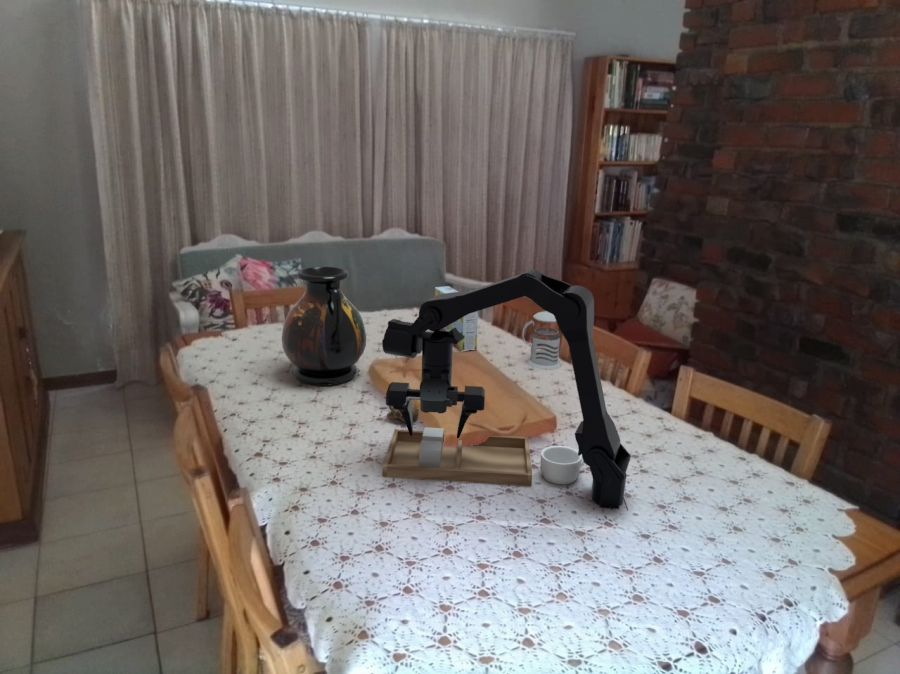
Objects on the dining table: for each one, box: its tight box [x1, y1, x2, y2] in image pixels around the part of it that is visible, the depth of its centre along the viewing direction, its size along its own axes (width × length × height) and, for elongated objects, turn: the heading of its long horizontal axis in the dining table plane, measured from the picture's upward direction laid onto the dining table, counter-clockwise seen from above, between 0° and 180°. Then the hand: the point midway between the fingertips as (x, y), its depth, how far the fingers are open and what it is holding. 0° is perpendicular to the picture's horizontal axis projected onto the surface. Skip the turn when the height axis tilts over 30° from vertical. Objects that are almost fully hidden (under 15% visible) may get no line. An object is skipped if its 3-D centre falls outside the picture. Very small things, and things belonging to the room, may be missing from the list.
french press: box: [521, 310, 562, 370], centre depth 190 cm, size 10×12×25 cm
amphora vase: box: [281, 266, 367, 386], centre depth 175 cm, size 22×22×28 cm
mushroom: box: [386, 399, 419, 423], centre depth 154 cm, size 8×8×6 cm
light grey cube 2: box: [419, 440, 442, 468], centre depth 132 cm, size 4×4×4 cm
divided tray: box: [382, 428, 533, 487], centre depth 135 cm, size 16×28×3 cm, turn 86°
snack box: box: [434, 285, 479, 352], centre depth 209 cm, size 21×6×15 cm, turn 25°
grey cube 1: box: [422, 426, 445, 458], centre depth 138 cm, size 4×4×4 cm
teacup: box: [540, 445, 586, 485], centre depth 131 cm, size 10×8×5 cm
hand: (434, 436), depth 134 cm, fingers open, 9 cm apart
